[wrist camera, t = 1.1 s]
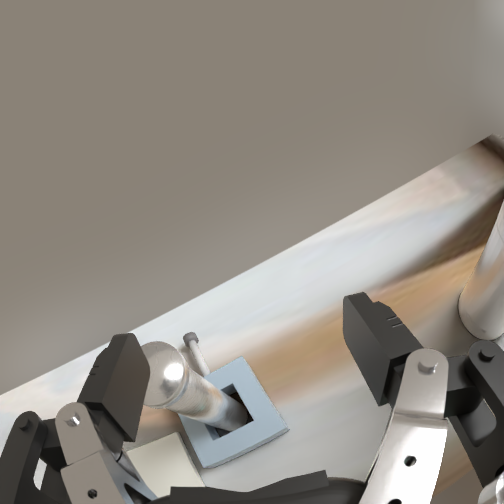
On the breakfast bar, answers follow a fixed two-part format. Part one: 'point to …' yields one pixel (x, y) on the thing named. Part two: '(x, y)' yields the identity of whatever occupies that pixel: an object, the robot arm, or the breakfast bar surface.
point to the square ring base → (255, 399)
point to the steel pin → (188, 390)
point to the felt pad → (165, 465)
